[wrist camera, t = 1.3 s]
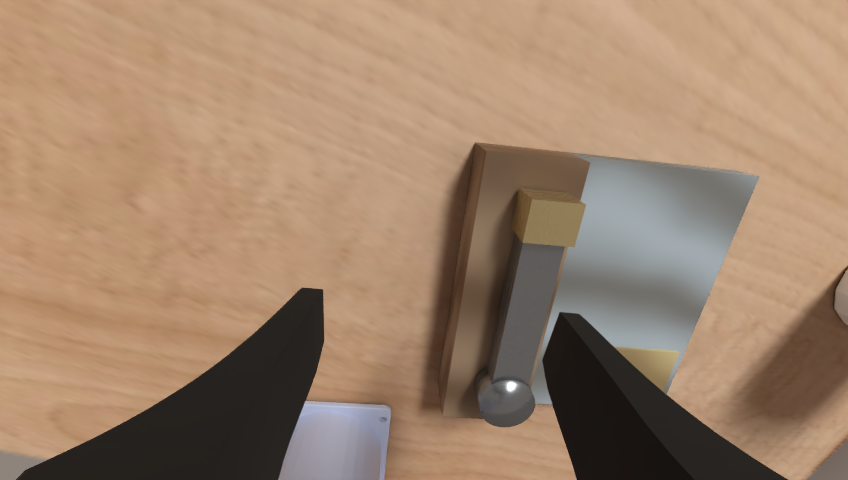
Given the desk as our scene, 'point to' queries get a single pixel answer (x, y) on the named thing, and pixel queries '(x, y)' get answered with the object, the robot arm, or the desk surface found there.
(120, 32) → the desk surface
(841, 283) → the white cup
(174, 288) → the desk surface
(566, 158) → the door board
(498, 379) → the latch bar
